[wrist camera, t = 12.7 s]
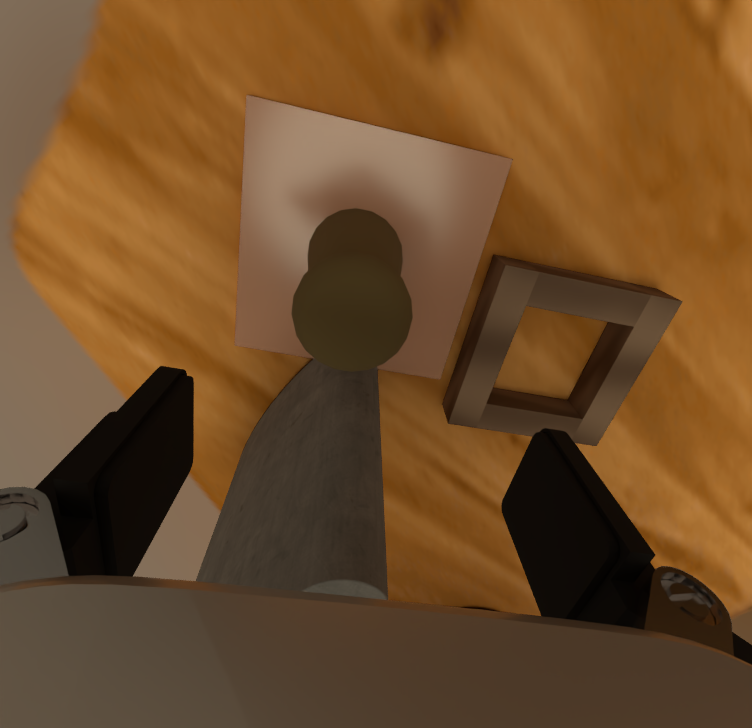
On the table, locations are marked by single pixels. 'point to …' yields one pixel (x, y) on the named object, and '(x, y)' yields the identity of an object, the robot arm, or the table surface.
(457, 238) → the terracotta tile
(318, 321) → the olive pawn shape
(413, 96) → the table surface
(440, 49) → the table surface
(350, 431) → the hip flask
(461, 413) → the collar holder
